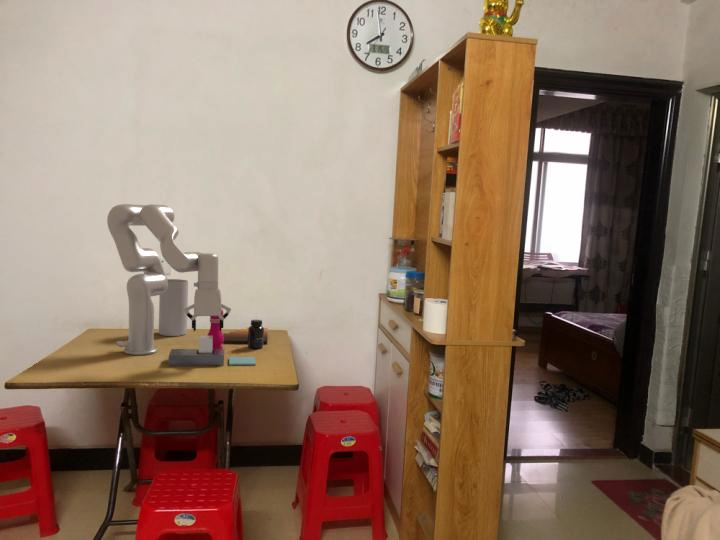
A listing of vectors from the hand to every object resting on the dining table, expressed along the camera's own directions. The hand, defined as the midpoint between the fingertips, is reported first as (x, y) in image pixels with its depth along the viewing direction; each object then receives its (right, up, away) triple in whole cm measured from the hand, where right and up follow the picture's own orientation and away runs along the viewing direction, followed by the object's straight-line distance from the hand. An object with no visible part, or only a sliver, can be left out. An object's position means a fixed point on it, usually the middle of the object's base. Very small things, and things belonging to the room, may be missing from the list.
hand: (207, 330), depth 222 cm
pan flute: (+3, -9, +47) cm, 48 cm away
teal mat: (+12, -13, +4) cm, 18 cm away
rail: (-4, -12, +1) cm, 13 cm away
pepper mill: (-3, -11, +21) cm, 24 cm away
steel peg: (-1, -13, +1) cm, 13 cm away
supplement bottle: (+13, -11, +30) cm, 34 cm away
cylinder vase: (-29, -7, +48) cm, 57 cm away
